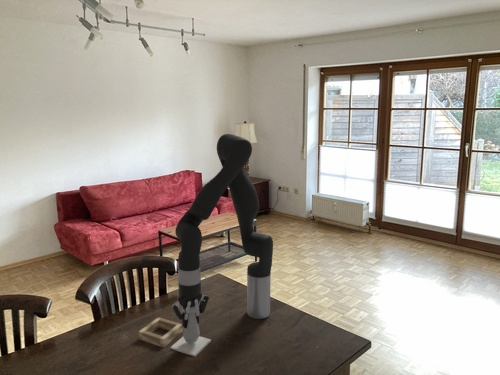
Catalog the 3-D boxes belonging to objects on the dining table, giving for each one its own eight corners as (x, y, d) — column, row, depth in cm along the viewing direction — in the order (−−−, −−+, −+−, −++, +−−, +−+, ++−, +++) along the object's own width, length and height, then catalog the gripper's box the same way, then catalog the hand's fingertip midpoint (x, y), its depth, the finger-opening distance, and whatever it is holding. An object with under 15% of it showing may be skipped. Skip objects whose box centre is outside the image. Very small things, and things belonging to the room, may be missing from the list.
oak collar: (158, 324, 151) (158, 317, 150) (182, 331, 146) (182, 324, 145) (138, 339, 141) (138, 331, 140) (163, 347, 136) (163, 339, 136)
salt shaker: (179, 340, 137) (178, 305, 135) (192, 333, 142) (191, 299, 139) (190, 346, 134) (189, 311, 131) (203, 339, 138) (202, 305, 135)
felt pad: (187, 334, 144) (187, 332, 144) (211, 341, 140) (211, 339, 140) (170, 348, 136) (170, 347, 136) (195, 356, 131) (195, 355, 131)
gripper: (174, 289, 126) (176, 338, 130) (213, 278, 134) (214, 325, 137) (165, 280, 132) (167, 327, 136) (203, 271, 140) (204, 316, 144)
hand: (190, 326), depth 137 cm, fingers closed on salt shaker, 3 cm apart
